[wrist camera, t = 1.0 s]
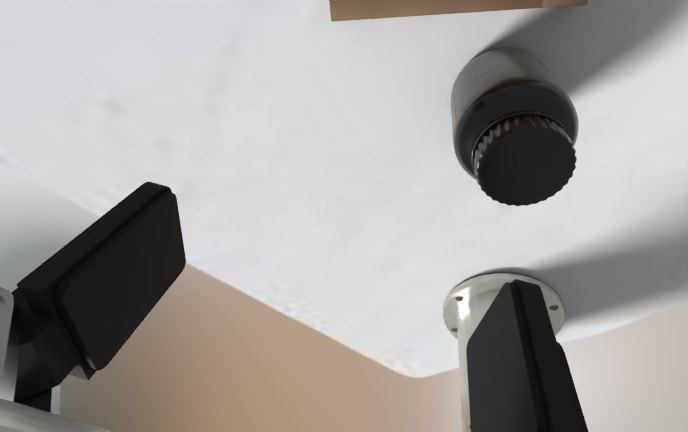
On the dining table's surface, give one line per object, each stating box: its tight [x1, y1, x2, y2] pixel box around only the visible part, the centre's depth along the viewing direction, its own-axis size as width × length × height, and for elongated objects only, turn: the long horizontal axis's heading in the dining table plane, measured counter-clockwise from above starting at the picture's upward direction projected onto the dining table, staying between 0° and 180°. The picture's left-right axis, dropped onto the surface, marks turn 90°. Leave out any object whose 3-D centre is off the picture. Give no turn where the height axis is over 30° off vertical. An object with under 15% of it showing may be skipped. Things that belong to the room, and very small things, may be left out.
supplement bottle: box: [451, 48, 578, 206], centre depth 24 cm, size 7×7×12 cm
